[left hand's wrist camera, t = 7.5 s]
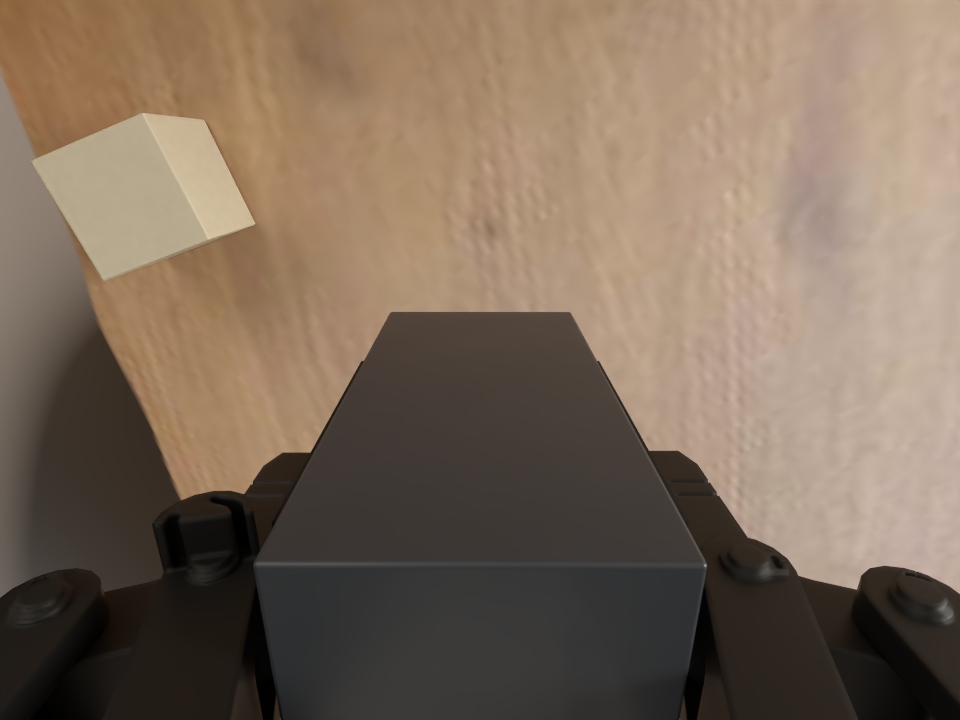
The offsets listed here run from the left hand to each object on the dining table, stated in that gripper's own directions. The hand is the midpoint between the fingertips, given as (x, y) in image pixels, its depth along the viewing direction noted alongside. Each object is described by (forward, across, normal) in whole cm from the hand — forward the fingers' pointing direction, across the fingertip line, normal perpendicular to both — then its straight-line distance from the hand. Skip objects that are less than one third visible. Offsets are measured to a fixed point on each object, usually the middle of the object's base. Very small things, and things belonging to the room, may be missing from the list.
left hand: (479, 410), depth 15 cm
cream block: (+15, -14, +4) cm, 21 cm away
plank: (0, 0, -9) cm, 9 cm away
